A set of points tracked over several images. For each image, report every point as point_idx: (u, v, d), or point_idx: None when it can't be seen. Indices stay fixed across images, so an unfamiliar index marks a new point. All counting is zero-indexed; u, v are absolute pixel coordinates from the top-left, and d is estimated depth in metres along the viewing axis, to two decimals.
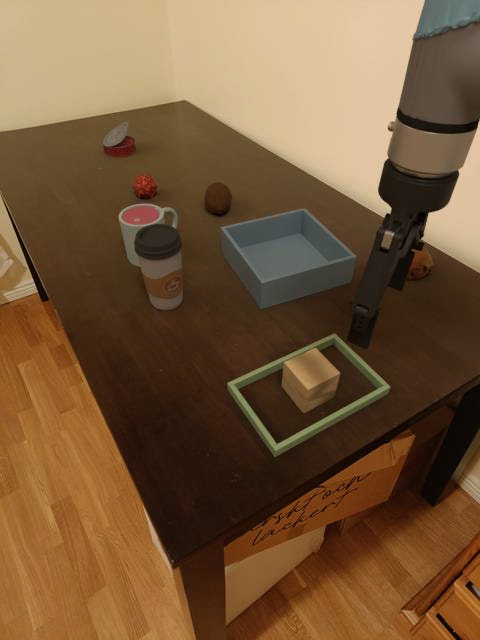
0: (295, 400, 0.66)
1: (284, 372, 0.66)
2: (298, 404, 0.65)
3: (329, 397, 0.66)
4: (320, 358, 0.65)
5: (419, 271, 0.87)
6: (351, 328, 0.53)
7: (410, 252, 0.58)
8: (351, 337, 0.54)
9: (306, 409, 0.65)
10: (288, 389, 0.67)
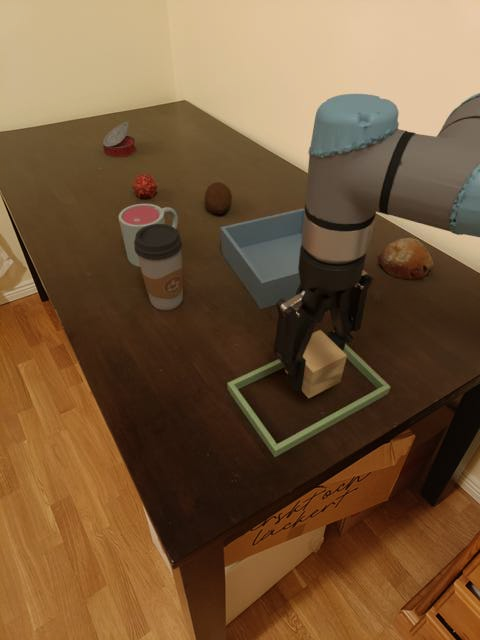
0: None
1: None
2: (303, 389, 0.62)
3: (335, 382, 0.63)
4: (325, 340, 0.62)
5: (419, 271, 0.87)
6: None
7: (338, 340, 0.61)
8: (289, 377, 0.63)
9: (311, 393, 0.62)
10: None
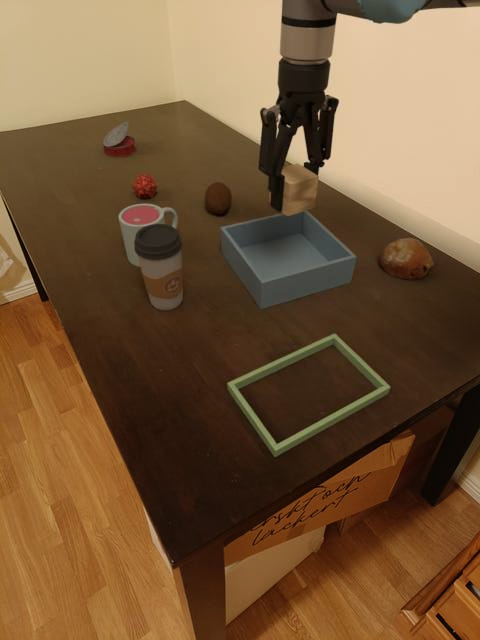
0: None
1: None
2: (283, 209, 0.75)
3: (310, 206, 0.76)
4: (301, 168, 0.75)
5: (419, 271, 0.87)
6: (271, 193, 0.76)
7: (312, 166, 0.74)
8: (272, 201, 0.76)
9: (289, 211, 0.74)
10: None
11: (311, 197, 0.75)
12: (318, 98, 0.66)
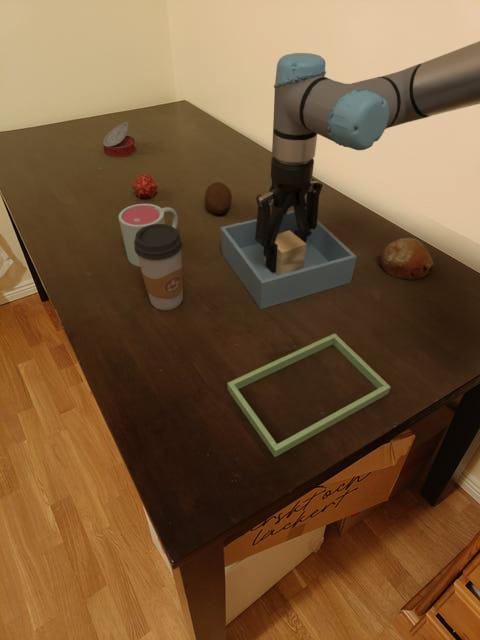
0: None
1: None
2: (276, 270, 0.89)
3: (299, 267, 0.90)
4: (292, 236, 0.88)
5: (419, 271, 0.87)
6: None
7: (301, 235, 0.87)
8: (267, 263, 0.90)
9: (281, 272, 0.88)
10: None
11: (300, 260, 0.89)
12: (304, 185, 0.79)
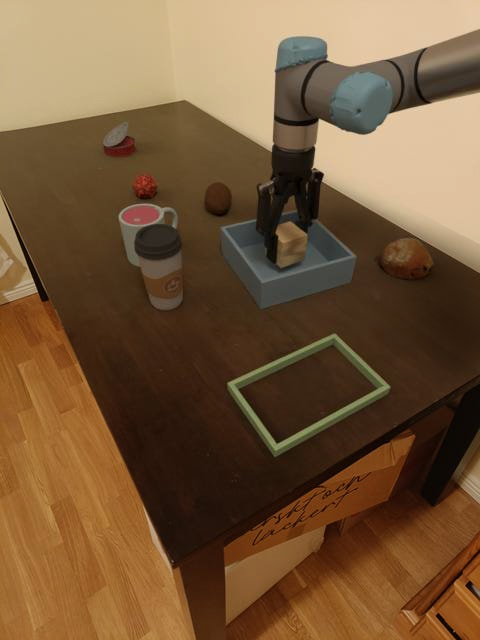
0: None
1: None
2: (277, 261, 0.87)
3: (300, 258, 0.88)
4: (293, 226, 0.87)
5: (419, 271, 0.87)
6: (267, 248, 0.87)
7: (302, 225, 0.86)
8: (267, 254, 0.88)
9: (282, 264, 0.86)
10: None
11: (301, 251, 0.87)
12: (305, 173, 0.78)
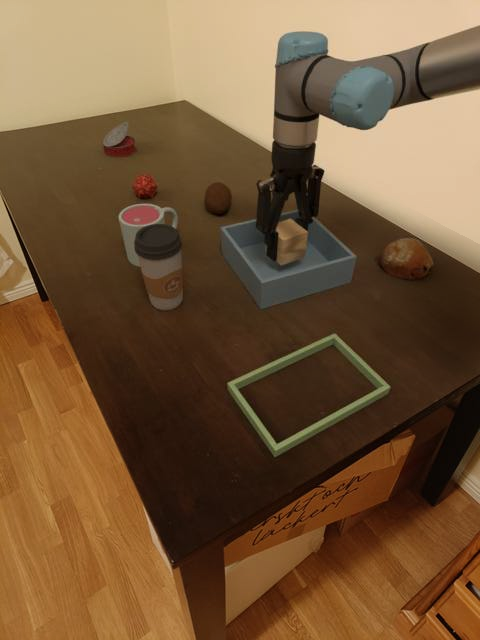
0: None
1: None
2: (277, 259, 0.87)
3: (301, 256, 0.88)
4: (293, 224, 0.87)
5: (419, 271, 0.87)
6: (267, 245, 0.87)
7: (302, 223, 0.85)
8: (267, 252, 0.88)
9: (282, 261, 0.86)
10: None
11: (302, 249, 0.87)
12: (306, 170, 0.77)
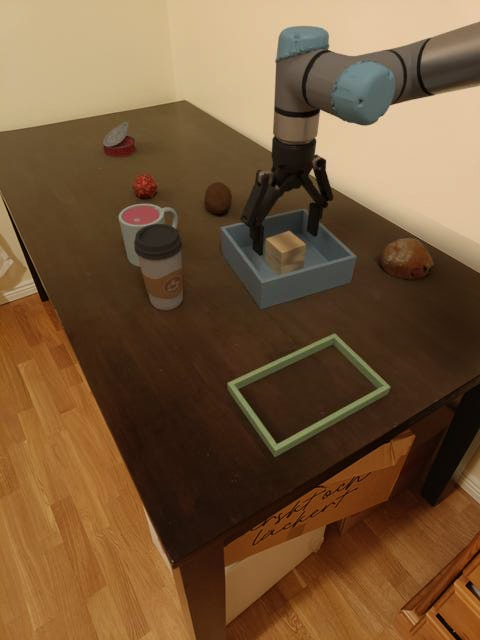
0: (274, 268, 0.89)
1: (266, 247, 0.89)
2: (276, 270, 0.89)
3: (299, 267, 0.90)
4: (292, 236, 0.89)
5: (419, 271, 0.87)
6: None
7: (317, 207, 0.85)
8: (253, 246, 0.85)
9: (281, 273, 0.88)
10: (269, 261, 0.90)
11: (300, 260, 0.89)
12: (306, 166, 0.77)
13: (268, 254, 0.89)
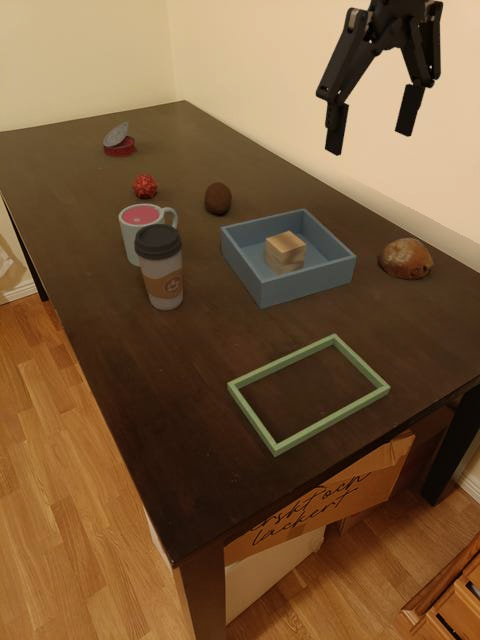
0: (274, 268, 0.89)
1: (266, 247, 0.89)
2: (276, 270, 0.89)
3: (299, 267, 0.90)
4: (292, 236, 0.89)
5: (419, 271, 0.87)
6: (327, 132, 0.59)
7: (418, 88, 0.60)
8: (327, 143, 0.60)
9: (281, 273, 0.88)
10: (269, 261, 0.90)
11: (300, 260, 0.89)
12: (417, 9, 0.52)
13: (268, 254, 0.89)
